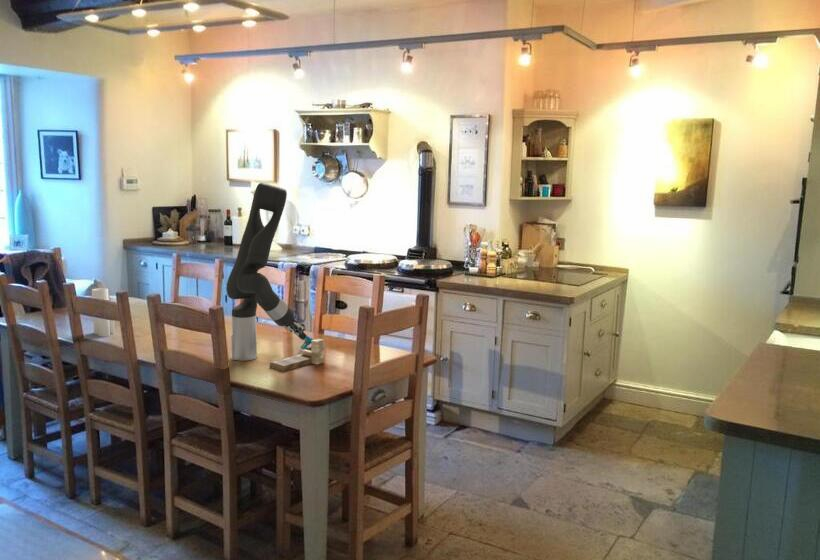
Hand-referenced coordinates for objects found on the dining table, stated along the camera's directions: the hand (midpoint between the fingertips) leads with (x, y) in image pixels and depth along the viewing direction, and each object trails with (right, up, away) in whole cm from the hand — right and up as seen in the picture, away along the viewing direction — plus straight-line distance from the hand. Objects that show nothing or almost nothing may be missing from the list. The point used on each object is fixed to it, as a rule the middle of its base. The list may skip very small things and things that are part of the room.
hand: (304, 337), depth 249 cm
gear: (-2, -7, +28) cm, 29 cm away
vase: (-98, -3, +49) cm, 109 cm away
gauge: (+2, -10, +9) cm, 13 cm away
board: (-4, -11, +6) cm, 13 cm away
